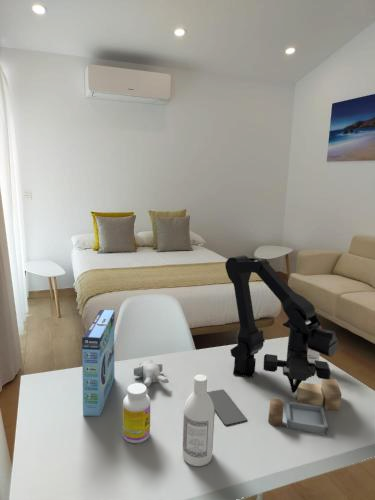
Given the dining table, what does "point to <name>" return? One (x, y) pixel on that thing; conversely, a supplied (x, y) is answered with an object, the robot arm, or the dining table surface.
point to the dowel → (276, 412)
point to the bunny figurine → (150, 372)
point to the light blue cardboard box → (98, 362)
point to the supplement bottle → (136, 414)
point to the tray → (306, 417)
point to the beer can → (312, 352)
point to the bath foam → (198, 424)
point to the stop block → (331, 394)
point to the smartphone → (226, 408)
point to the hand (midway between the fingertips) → (293, 392)
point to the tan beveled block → (309, 394)
